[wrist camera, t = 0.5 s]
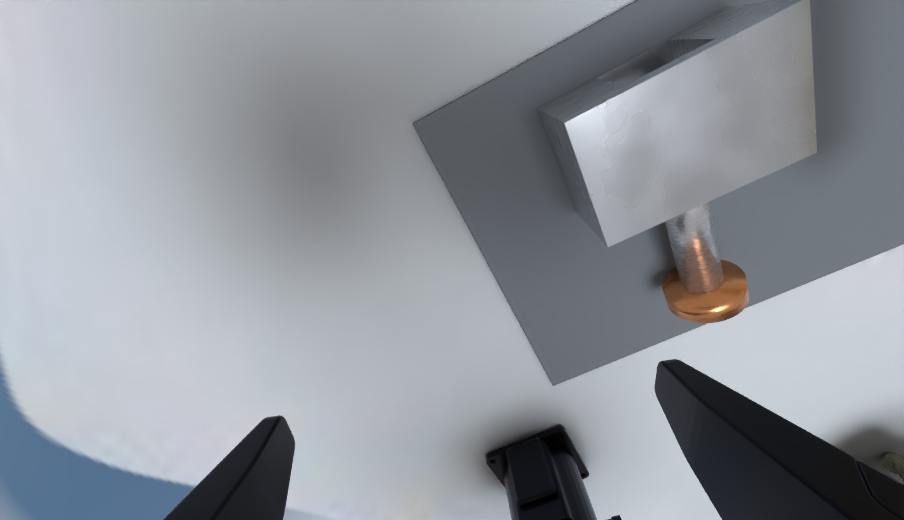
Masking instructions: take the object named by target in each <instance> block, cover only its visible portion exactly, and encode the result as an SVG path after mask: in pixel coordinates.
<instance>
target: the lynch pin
mask: <svg viewBox="0 0 904 520" xmlns="http://www.w3.org/2000/svg"><path fill="white" fill-rule="evenodd" d="M665 225H666V229H667V233H668V236H669V240H670V244H671V248H672V252H673V255H674V259H675V263H676V267H675V268H673V269H672V270H670V271H669V272H668V273H667V274H666V276H665V277H664V279H663V282H662V289H663V292H664V296H665V299H666V302H667V306H668V308H669V310H670V311H671V312H672V313H673V314H674V315H676V316H677V317H679V318H681V319H684V320H686V321H690V322H695V323H714V322H720V321H724V320H727V319H730V318H732V317H734V316H736V315H737V314H739V313H740V312H741V311H742V310H743V309H744V308H745V307H746V306H747V304H748V301H749V291H748V285H747V279H746V275H745V273H744V271H743V270H742V269H741V268H740V267H739V266H737V265H736V264H734V263H732V262H729V261H726V260H721V259H720V256H719V251H718V246H717V241H716V235H715V230H714V225H713V220H712V215H711V210H710V205H709V202H707V203H705V204H703V205H700V206H698V207H696V208H694V209H691V210H689V211H687V212H685V213H683V214H680V215H678V216H676V217H674V218H672V219H669V220H667V221H665Z"/></svg>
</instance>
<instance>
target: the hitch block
mask: <svg viewBox="0 0 904 520" xmlns="http://www.w3.org/2000/svg"><path fill="white" fill-rule="evenodd" d="M536 108H537V111H538V114H539V116H540V119H541V122H542V124H543V127H544V130H545V132H546V135H547V137H548V140H549V143H550V145H551V148H552V151H553V153H554V156H555V159H556V161H557V164H558V166H559V169H560V172H561V174H562V177H563V180H564V182H565V185H566V188H567V190H568V193H569V196H570V198H571V201H572V203H573V206H574V209H575V211H576V213H577V214H578V215H579V216H580V218H581V219H582V220H583V221H584V222H585V223H586V224H587V225H588V226H589V227H590V228H591V229H592V231H593V232H594V233H595V234H596V235H597V236H598V237H599V238H600V239H601V240H602V241H603V243H604V244H605V245H606V246H607V247H610V246H612V245H614V244H617V243H619V242H621V241H623V240H625V239H628V238H630V237H632V236H634V235H636V234H639V233H641V232H643V231H645V230H647V229H650V228H652V227H654V226H656V225H658V224H661V223H663V222H665V221H667V220H669V219H672V218H674V217H676V216H678V215H680V214H683V213H685V212H687V211H689V210H691V209H694V208H696V207H698V206H700V205H703V204H705V203H707V202H709V201H711V200H714V199H716V198H718V197H720V196H722V195H725V194H727V193H729V192H731V191H733V190H736V189H738V188H740V187H742V186H744V185H747V184H749V183H751V182H753V181H755V180H758V179H760V178H762V177H764V176H766V175H769V174H771V173H773V172H775V171H777V170H780V169H782V168H784V167H786V166H788V165H791V164H793V163H795V162H797V161H800V160H802V159H804V158H806V157H808V156H811V155H813V154H815V153H817V139H816V118H815V97H814V75H813V54H812V33H811V12H810V0H776V1H768V2H760V3H752V4H744V5H736V6H728V7H726V8H724V9H722V10H720V11H718V12H716V13H714V14H712V15H711V16H709V17H707V18H705V19H703V20H701V21H699V22H697V23H695V24H694V25H692V26H690V27H688V28H686V29H684V30H682V31H680V32H678V33H677V34H675V35H673V36H671V37H669V38H667V39H665V40H663V41H661V42H659V43H658V44H656V45H654V46H652V47H650V48H648V49H646V50H644V51H642V52H641V53H639V54H637V55H635V56H633V57H631V58H629V59H627V60H625V61H624V62H622V63H620V64H618V65H616V66H614V67H612V68H610V69H608V70H606V71H605V72H603V73H601V74H599V75H597V76H595V77H593V78H591V79H589V80H588V81H586V82H584V83H582V84H580V85H578V86H576V87H574V88H572V89H571V90H569V91H567V92H565V93H563V94H561V95H559V96H557V97H555V98H553V99H552V100H550V101H548V102H546V103H544V104H542V105H540V106H538V107H536Z"/></svg>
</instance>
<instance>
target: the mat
mask: <svg viewBox="0 0 904 520" xmlns="http://www.w3.org/2000/svg"><path fill="white" fill-rule="evenodd" d="M768 1H776V0H637V1H635V2H633V3H631V4H629V5H627V6H626V7H624V8H622V9H620V10H618V11H617V12H615V13H613V14H611V15H609V16H607V17H606V18H604V19H602V20H600V21H598V22H597V23H595V24H593V25H591V26H589V27H587V28H586V29H584V30H582V31H580V32H578V33H577V34H575V35H573V36H571V37H569V38H568V39H566V40H564V41H562V42H560V43H558V44H557V45H555V46H553V47H551V48H549V49H548V50H546V51H544V52H542V53H540V54H538V55H537V56H535V57H533V58H531V59H529V60H528V61H526V62H524V63H522V64H520V65H519V66H517V67H515V68H513V69H511V70H509V71H508V72H506V73H504V74H502V75H500V76H499V77H497V78H495V79H493V80H491V81H489V82H488V83H486V84H484V85H482V86H480V87H479V88H477V89H475V90H473V91H471V92H470V93H468V94H466V95H464V96H462V97H460V98H459V99H457V100H455V101H453V102H451V103H450V104H448V105H446V106H444V107H442V108H440V109H439V110H437V111H435V112H433V113H431V114H430V115H428V116H426V117H424V118H422V119H420V120H419V121H417V122H415V123H413V125H414V127H415V129H416V131H417V133H418V135H419V137H420V139H421V140H422V142H423V144H424V146H425V148H426V150H427V152H428V153H429V155H430V157H431V159H432V161H433V163H434V165H435V167H436V168H437V170H438V172H439V174H440V176H441V178H442V180H443V181H444V183H445V185H446V187H447V189H448V191H449V193H450V194H451V196H452V198H453V200H454V202H455V204H456V206H457V208H458V209H459V211H460V213H461V215H462V217H463V219H464V221H465V222H466V224H467V226H468V228H469V230H470V232H471V234H472V236H473V237H474V239H475V241H476V243H477V245H478V247H479V249H480V250H481V252H482V254H483V256H484V258H485V260H486V262H487V264H488V265H489V267H490V269H491V271H492V273H493V275H494V277H495V278H496V280H497V282H498V284H499V286H500V288H501V290H502V291H503V293H504V295H505V297H506V299H507V301H508V303H509V305H510V306H511V308H512V310H513V312H514V314H515V316H516V318H517V319H518V321H519V323H520V325H521V327H522V329H523V331H524V333H525V334H526V336H527V338H528V340H529V342H530V344H531V346H532V347H533V349H534V351H535V353H536V355H537V357H538V359H539V361H540V362H541V364H542V366H543V368H544V370H545V372H546V374H547V375H548V377H549V379H550V381H551V383H552V385H553V386H554V385H557V384H559V383H561V382H564V381H566V380H569V379H571V378H574V377H576V376H579V375H581V374H584V373H586V372H589V371H591V370H594V369H596V368H599V367H601V366H604V365H606V364H608V363H611V362H613V361H616V360H618V359H621V358H623V357H626V356H628V355H631V354H633V353H636V352H638V351H641V350H643V349H646V348H648V347H650V346H653V345H655V344H658V343H660V342H663V341H665V340H668V339H670V338H673V337H675V336H678V335H680V334H683V333H685V332H688V331H690V330H692V329H695V328H697V327H700V326H702V325H705V324H707V323H695V322H690V321H686V320H684V319H681V318H679V317H677V316H676V315H674V314H673V313H672V312H671V311H670V310H669V308H668V306H667V302H666V299H665V296H664V292H663V289H662V282H663V279H664V277H665V276H666V274H667V273H668V272H669V271H670V270H672V269H673V268H675V267H676V263H675V259H674V255H673V252H672V248H671V244H670V240H669V236H668V233H667V229H666V225H665V222H663V223H661V224H658V225H656V226H654V227H652V228H650V229H647V230H645V231H643V232H641V233H639V234H636V235H634V236H632V237H630V238H628V239H625V240H623V241H621V242H619V243H617V244H614V245H612V246H610V247H607V246H606V245H605V244H604V243H603V241H602V240H601V239H600V238H599V237H598V236H597V235H596V234H595V233H594V232H593V231H592V229H591V228H590V227H589V226H588V225H587V224H586V223H585V222H584V221H583V220H582V219H581V218H580V216H579V215H578V214H577V213H576V211H575V209H574V206H573V203H572V201H571V198H570V196H569V193H568V190H567V188H566V185H565V182H564V180H563V177H562V174H561V172H560V169H559V166H558V164H557V161H556V159H555V156H554V153H553V151H552V148H551V145H550V143H549V140H548V137H547V135H546V132H545V130H544V127H543V124H542V122H541V119H540V116H539V114H538V111H537V108H536V107H538V106H540V105H542V104H544V103H546V102H548V101H550V100H552V99H553V98H555V97H557V96H559V95H561V94H563V93H565V92H567V91H569V90H571V89H572V88H574V87H576V86H578V85H580V84H582V83H584V82H586V81H588V80H589V79H591V78H593V77H595V76H597V75H599V74H601V73H603V72H605V71H606V70H608V69H610V68H612V67H614V66H616V65H618V64H620V63H622V62H624V61H625V60H627V59H629V58H631V57H633V56H635V55H637V54H639V53H641V52H642V51H644V50H646V49H648V48H650V47H652V46H654V45H656V44H658V43H659V42H661V41H663V40H665V39H667V38H669V37H671V36H673V35H675V34H677V33H678V32H680V31H682V30H684V29H686V28H688V27H690V26H692V25H694V24H695V23H697V22H699V21H701V20H703V19H705V18H707V17H709V16H711V15H712V14H714V13H716V12H718V11H720V10H722V9H724V8H726V7H728V6H736V5H744V4H752V3H760V2H768ZM810 12H811V33H812V54H813V75H814V97H815V118H816V139H817V153H815V154H813V155H811V156H808V157H806V158H804V159H802V160H800V161H797V162H795V163H793V164H791V165H788V166H786V167H784V168H782V169H780V170H777V171H775V172H773V173H771V174H769V175H766V176H764V177H762V178H760V179H758V180H755V181H753V182H751V183H749V184H747V185H744V186H742V187H740V188H738V189H736V190H733V191H731V192H729V193H727V194H725V195H722V196H720V197H718V198H716V199H714V200H711V201H709V205H710V210H711V215H712V220H713V225H714V230H715V235H716V241H717V246H718V251H719V256H720V259H721V260H726V261H729V262H732V263H734V264H736V265H737V266H739V267H740V268H741V269H742V270H743V271H744V273H745V275H746V279H747V285H748V291H749V301H748V304H747V306H746V307H745V308H747V307H749V306H752V305H754V304H757V303H759V302H762V301H764V300H767V299H769V298H772V297H774V296H777V295H779V294H781V293H784V292H786V291H789V290H791V289H794V288H796V287H799V286H801V285H804V284H806V283H809V282H811V281H814V280H816V279H819V278H821V277H823V276H826V275H828V274H831V273H833V272H836V271H838V270H841V269H843V268H846V267H848V266H851V265H853V264H856V263H858V262H861V261H863V260H865V259H868V258H870V257H873V256H875V255H878V254H880V253H883V252H885V251H888V250H890V249H893V248H895V247H898V246H900V245H903V244H904V0H810Z"/></svg>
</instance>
